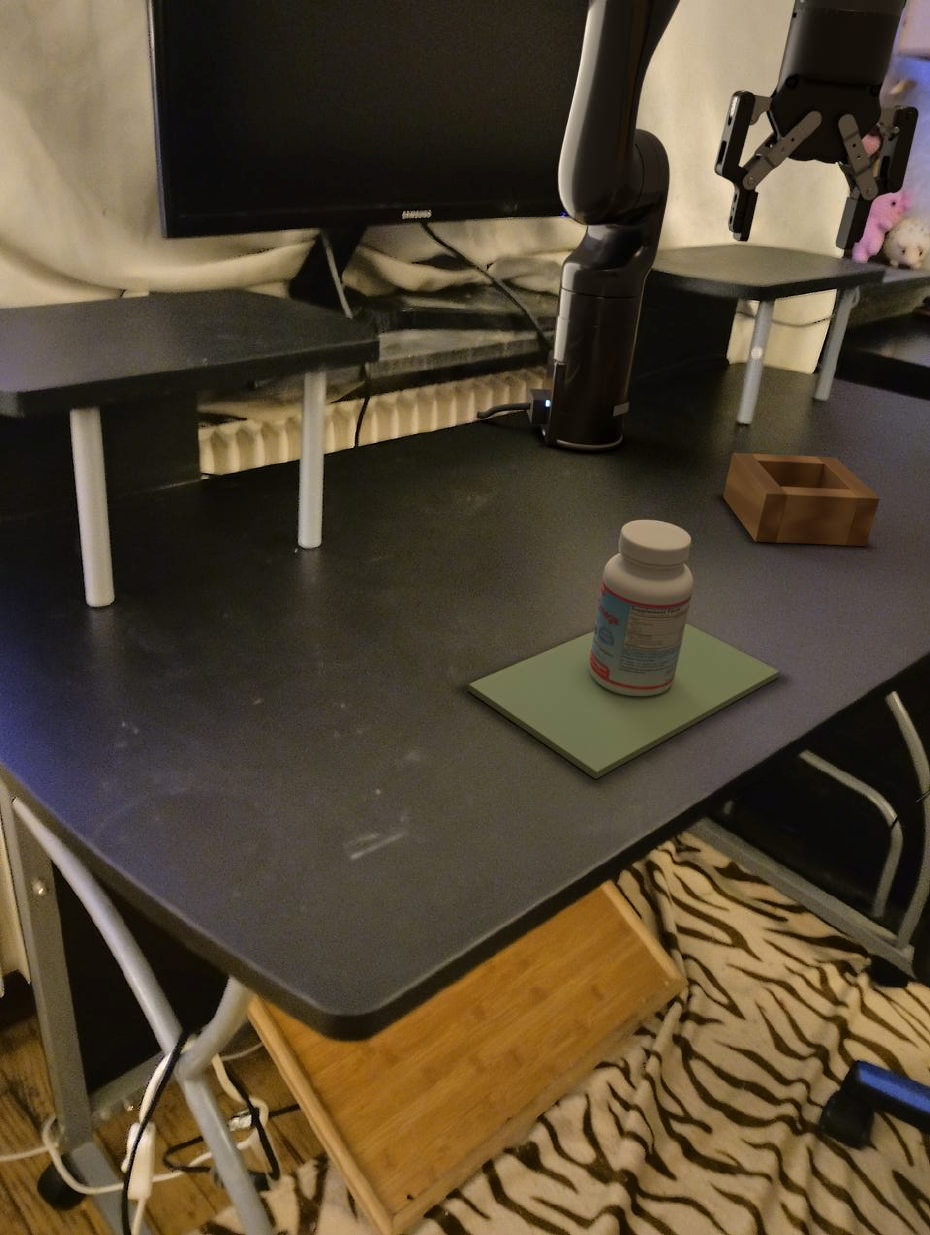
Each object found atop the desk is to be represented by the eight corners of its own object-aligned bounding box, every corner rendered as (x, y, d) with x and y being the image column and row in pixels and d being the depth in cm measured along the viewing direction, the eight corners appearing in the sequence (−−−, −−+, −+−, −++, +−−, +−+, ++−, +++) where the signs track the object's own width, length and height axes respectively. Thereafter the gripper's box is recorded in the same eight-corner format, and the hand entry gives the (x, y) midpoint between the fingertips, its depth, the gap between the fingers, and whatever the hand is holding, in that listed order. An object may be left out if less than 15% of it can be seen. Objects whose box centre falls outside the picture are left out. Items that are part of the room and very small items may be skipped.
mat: (595, 779, 61) (596, 771, 60) (467, 690, 68) (468, 683, 68) (777, 677, 72) (779, 670, 72) (651, 611, 80) (653, 605, 80)
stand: (755, 542, 94) (766, 493, 91) (722, 497, 103) (732, 452, 101) (866, 546, 95) (880, 498, 92) (823, 501, 104) (835, 457, 102)
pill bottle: (584, 651, 73) (605, 511, 67) (666, 657, 73) (694, 518, 67) (591, 697, 67) (614, 549, 62) (679, 703, 67) (710, 556, 62)
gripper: (920, 18, 74) (859, 243, 83) (736, 0, 73) (693, 229, 82) (967, 16, 68) (896, 260, 76) (766, -4, 67) (716, 245, 75)
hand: (791, 244), depth 79 cm, fingers open, 8 cm apart
